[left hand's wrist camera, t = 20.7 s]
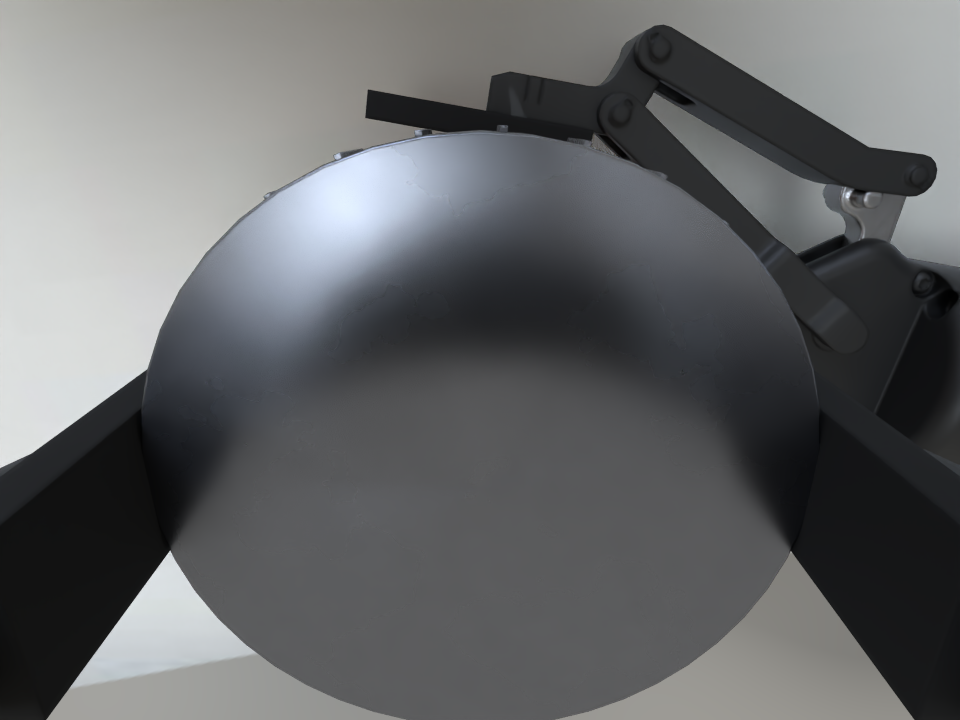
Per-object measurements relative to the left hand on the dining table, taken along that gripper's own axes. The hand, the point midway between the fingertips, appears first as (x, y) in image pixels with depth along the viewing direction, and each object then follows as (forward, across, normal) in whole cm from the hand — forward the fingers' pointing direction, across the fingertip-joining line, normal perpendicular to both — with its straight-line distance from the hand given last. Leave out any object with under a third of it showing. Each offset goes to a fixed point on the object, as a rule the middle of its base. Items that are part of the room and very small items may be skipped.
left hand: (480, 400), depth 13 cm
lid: (-3, 0, 0) cm, 3 cm away
